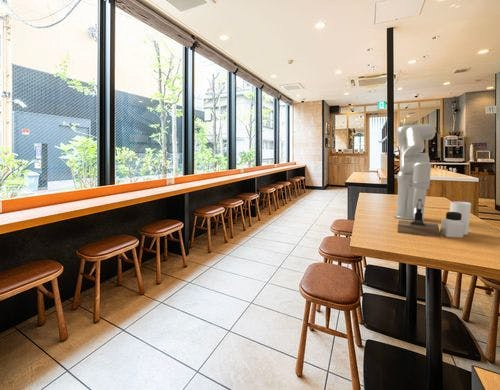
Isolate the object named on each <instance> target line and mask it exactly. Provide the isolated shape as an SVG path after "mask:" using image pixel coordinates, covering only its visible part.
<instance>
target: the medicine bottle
mask: <svg viewBox="0 0 500 390" xmlns="http://www.w3.org/2000/svg"><path fill="white" fill-rule="evenodd" d="M461 217H462V214H461V213H458V212H450V211H447V212H446V213H445V219H441V222H440V227H439V233H440V234H441V235H443V236H445V237H446V238H456V239H457V238H459V239H461V238H464V235H463V234H464V227H465V224H463V223H461V222H460V221H461Z"/></svg>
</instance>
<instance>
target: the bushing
mask: <svg viewBox="0 0 500 390" xmlns="http://www.w3.org/2000/svg"><path fill="white" fill-rule="evenodd" d="M417 209H418V208H417ZM415 213H416V206H414V211H413V219H412V221H413V224H415V225H423V222H424V218H425V217H424V216H425V215H424V214H425V207H422V213H423V214H422V221H418V220H415Z"/></svg>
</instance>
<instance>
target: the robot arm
mask: <svg viewBox="0 0 500 390" xmlns="http://www.w3.org/2000/svg"><path fill="white" fill-rule="evenodd" d="M435 135H436V129H435V126H434V125H433V124H429V123H421V124H419V123H418V124H405V125H401V126H399V127H397V131H396V137H397V141H398V144H399V151H400V152H399V171H398V173H397V177H396V178H397V199H396V213H394V214H393V217H394V218H396V219H399V220H400V219H401V220H413V213H414V207H416V213H415V220H418V221H422V214H423V213H422V207H423V208H425V203H426V198H427V197H426V196H427V190H429V189H430V185H431V183H430V181H431V170H432V163H431V162H430V161H431V159H430V156H429V154H428V153H426V152H423V151H424V150H425V147H426V146H425V140H427V141H428V140H432V139H434V137H435ZM411 185H412V186H411ZM417 208H418V209H417Z"/></svg>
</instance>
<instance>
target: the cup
mask: <svg viewBox="0 0 500 390" xmlns="http://www.w3.org/2000/svg"><path fill="white" fill-rule="evenodd" d="M449 206H450V208H449V212H458V213H461V214H462V217H461V221H460V222H461V223H463V224H465V227H464V234H463V236H466V235H469V229H470V227H469V226H470V219H471V210H472V209H471V208H472V203H471V202H467V201H458V200H457V201H451V202H450V205H449Z"/></svg>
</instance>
